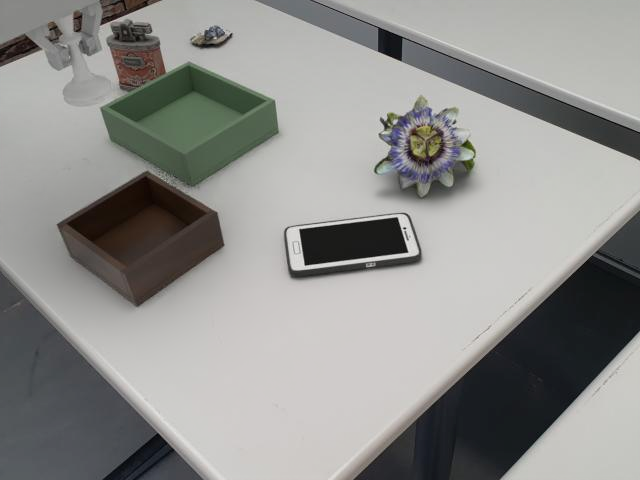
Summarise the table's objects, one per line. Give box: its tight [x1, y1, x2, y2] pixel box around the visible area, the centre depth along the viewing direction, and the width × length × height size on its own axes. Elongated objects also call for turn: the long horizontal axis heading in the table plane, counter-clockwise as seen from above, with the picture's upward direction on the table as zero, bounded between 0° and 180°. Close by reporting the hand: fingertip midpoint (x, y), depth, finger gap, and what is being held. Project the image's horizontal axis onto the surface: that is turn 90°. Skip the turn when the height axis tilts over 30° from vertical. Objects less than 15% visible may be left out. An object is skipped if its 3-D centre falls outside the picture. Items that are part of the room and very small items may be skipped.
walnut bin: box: [56, 170, 225, 307], centre depth 78 cm, size 13×13×5 cm
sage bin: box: [99, 61, 280, 187], centre depth 93 cm, size 18×16×5 cm
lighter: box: [105, 18, 167, 93], centre depth 101 cm, size 8×3×10 cm, turn 76°
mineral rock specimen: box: [189, 25, 230, 46], centre depth 114 cm, size 7×8×2 cm
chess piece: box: [53, 12, 115, 108], centre depth 65 cm, size 5×5×10 cm
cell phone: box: [283, 212, 423, 277], centre depth 77 cm, size 8×15×1 cm, turn 97°
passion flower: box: [373, 94, 477, 198], centre depth 84 cm, size 11×11×12 cm
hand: (76, 59), depth 66 cm, fingers closed on chess piece
